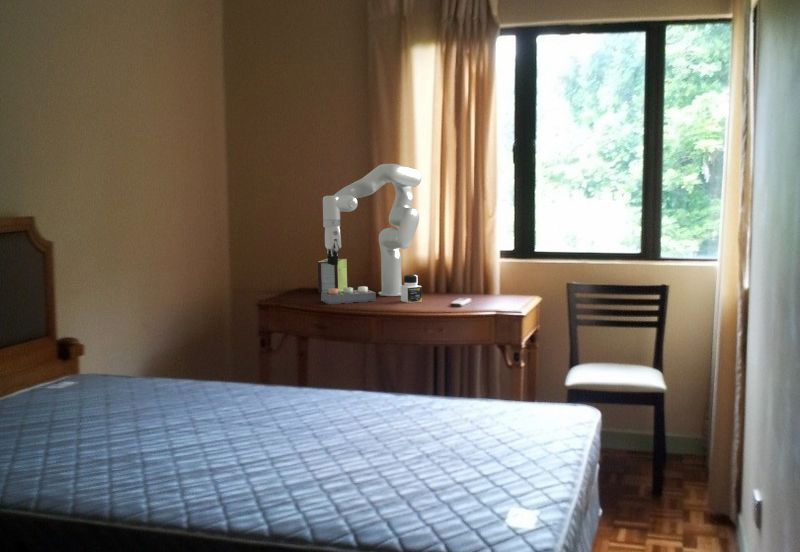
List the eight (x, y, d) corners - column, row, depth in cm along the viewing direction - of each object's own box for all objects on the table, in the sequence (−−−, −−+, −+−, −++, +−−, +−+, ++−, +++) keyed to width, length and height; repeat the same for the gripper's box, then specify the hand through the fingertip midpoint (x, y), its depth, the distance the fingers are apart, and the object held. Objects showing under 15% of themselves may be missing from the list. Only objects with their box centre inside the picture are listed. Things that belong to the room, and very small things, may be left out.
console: (366, 297, 403) (366, 289, 402) (375, 301, 392) (375, 292, 391) (321, 301, 395) (321, 292, 394) (329, 304, 384) (329, 295, 383)
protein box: (347, 289, 434) (346, 258, 432) (338, 293, 419) (337, 261, 417) (327, 289, 437) (326, 258, 435) (317, 293, 422) (316, 261, 420)
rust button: (336, 295, 393) (336, 288, 393) (339, 296, 389) (339, 289, 389) (327, 295, 392) (327, 288, 391) (330, 297, 387) (330, 289, 387)
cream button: (365, 293, 398) (365, 286, 398) (369, 294, 394) (368, 287, 394) (356, 293, 397) (356, 286, 396) (359, 294, 393) (359, 287, 392)
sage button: (351, 294, 396) (351, 287, 395) (354, 295, 392) (354, 288, 391) (342, 294, 394) (342, 287, 394) (345, 295, 390) (345, 288, 390)
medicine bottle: (408, 303, 385) (407, 276, 383) (400, 301, 391) (400, 274, 390) (422, 301, 388) (421, 275, 387) (414, 299, 394) (414, 273, 393)
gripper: (345, 224, 380) (346, 265, 382) (334, 222, 396) (335, 262, 398) (329, 224, 377) (330, 266, 380) (318, 223, 393) (319, 263, 395)
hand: (332, 264), depth 389 cm, fingers open, 3 cm apart
